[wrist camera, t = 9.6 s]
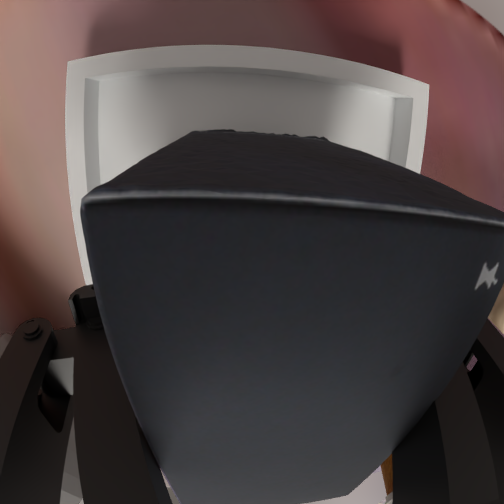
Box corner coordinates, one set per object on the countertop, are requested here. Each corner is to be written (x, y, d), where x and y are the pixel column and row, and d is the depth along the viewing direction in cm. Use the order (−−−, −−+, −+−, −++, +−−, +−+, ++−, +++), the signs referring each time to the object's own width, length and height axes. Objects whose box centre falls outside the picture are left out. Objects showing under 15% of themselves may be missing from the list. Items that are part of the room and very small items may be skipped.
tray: (403, 86, 13) (429, 84, 11) (352, 342, 21) (363, 365, 19) (89, 67, 11) (67, 61, 9) (120, 346, 19) (112, 371, 17)
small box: (179, 127, 11) (39, 175, 2) (328, 136, 12) (538, 213, 3) (184, 328, 16) (174, 514, 7) (298, 327, 17) (356, 495, 7)
